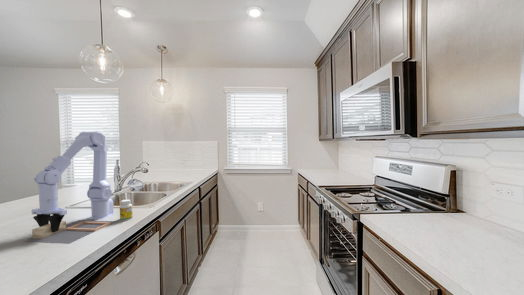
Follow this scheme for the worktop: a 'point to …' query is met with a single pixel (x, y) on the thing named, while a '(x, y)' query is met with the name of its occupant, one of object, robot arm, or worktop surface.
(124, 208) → the supplement bottle
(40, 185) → the robot arm
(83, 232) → the rubber mat
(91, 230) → the terracotta frame
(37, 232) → the cream long block
